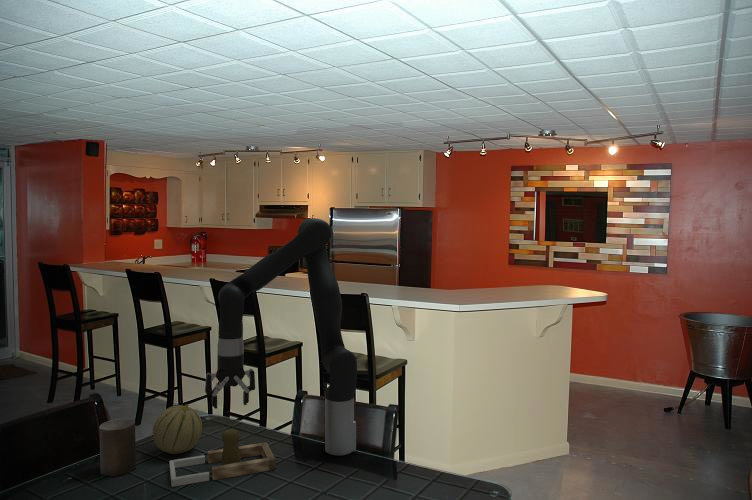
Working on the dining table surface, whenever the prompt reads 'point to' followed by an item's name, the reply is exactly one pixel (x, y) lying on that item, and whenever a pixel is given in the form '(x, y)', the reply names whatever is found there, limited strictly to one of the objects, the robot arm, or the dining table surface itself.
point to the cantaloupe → (177, 429)
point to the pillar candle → (117, 447)
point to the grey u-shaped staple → (188, 478)
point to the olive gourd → (230, 447)
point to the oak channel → (243, 467)
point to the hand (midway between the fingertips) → (230, 406)
